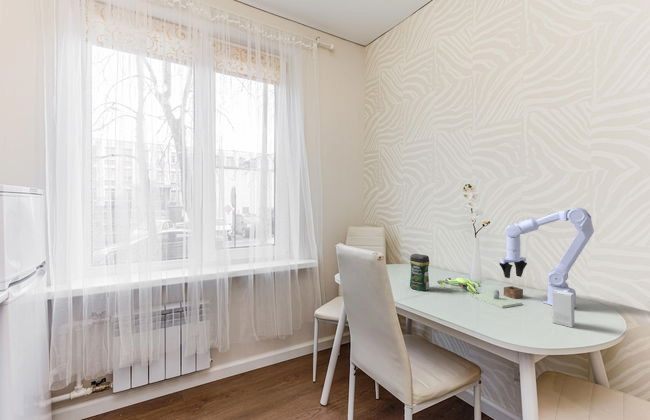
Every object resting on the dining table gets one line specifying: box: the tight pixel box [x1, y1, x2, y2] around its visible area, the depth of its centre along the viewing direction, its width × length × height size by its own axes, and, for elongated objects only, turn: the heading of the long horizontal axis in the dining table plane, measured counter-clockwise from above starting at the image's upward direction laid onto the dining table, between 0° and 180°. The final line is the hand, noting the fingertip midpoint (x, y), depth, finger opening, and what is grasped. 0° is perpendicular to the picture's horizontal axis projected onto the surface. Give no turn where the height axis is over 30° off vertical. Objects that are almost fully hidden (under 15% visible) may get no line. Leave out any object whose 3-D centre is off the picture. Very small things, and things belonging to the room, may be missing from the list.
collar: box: [503, 285, 524, 300], centre depth 142 cm, size 6×6×4 cm
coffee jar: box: [409, 253, 430, 292], centre depth 156 cm, size 10×8×19 cm
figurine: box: [437, 277, 481, 296], centre depth 157 cm, size 18×27×6 cm
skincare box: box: [551, 290, 576, 328], centre depth 110 cm, size 6×4×12 cm
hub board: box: [472, 289, 523, 309], centre depth 136 cm, size 16×12×5 cm
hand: (513, 277), depth 143 cm, fingers open, 7 cm apart
